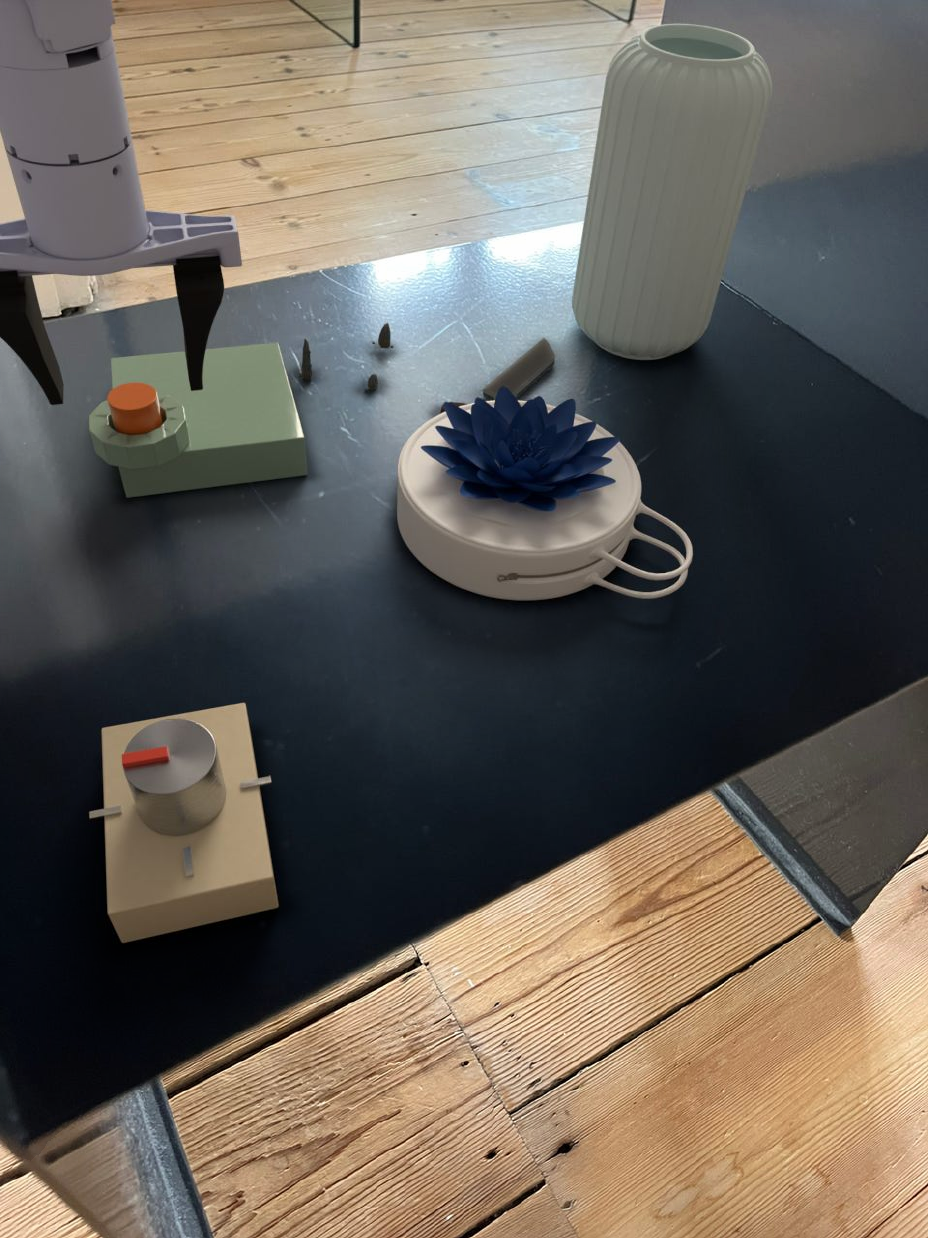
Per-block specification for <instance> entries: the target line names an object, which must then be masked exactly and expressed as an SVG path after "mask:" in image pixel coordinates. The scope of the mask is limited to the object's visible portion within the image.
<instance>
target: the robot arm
mask: <svg viewBox="0 0 928 1238" xmlns="http://www.w3.org/2000/svg"><path fill="white" fill-rule="evenodd" d="M115 24H116V20H115V14H114V9H113V2H112V0H0V135H1V139H2V143H3V146H4V150H5V154H6V157H7V160H8V164H9V168H10V170H11V174H12V178H13V182H14V186H15V187H16V192H17V196H18V198H19V202H20V205H21V210H22V213H23V216H24V218H20V219H15V220H10V221H6V222H0V339H2V341H4V342H5V343H6V345H8V347H10V349H11V350H12V351H13V352H14V353H15V354H16V355H17V356H18V358H19V359H20V360H21V361H22V363H23V364H24V365H25V366H26V368H27V369H28V370H29V372H30V373H31V374H32V375H33V377H34V378H35V380H36V381H37V383H38V385H39V386H40V388H41V390H42V391H43V393H44V395H45V397H46V398H47V400H48V403H49V405H51V406H57V405H63V404H64V387H65V386H64V385H65V384H64V381H63V376H62V371H61V368H60V364H59V362H58V359H57V356H56V354H55V351H54V348H53V345H52V343H51V340H50V337H49V335H48V331H47V329H46V326H45V322H44V318H43V314H42V311H41V308H40V307H41V306H40V303H39V299H38V295H37V291H36V287H35V282H34V277H33V276H43V275H44V276H45V275H46V276H47V275H66V276H77V277H78V276H79V277H94V276H104V275H109V274H114V273H119V272H123V271H127V270H131V269H141V268H155V267H168V266H169V267H171V266H172V270H173V276H174V283H175V284H174V285H175V291H176V296H177V302H178V308H179V314H180V318H181V322H182V323H181V324H182V330H183V341H184V351H185V356H186V363H187V370H188V377H189V383H190V388H191V391H196V390H202V389H203V380H202V376H203V363H204V355H205V350H206V349H207V345H208V341H209V336H210V333H211V331H212V330H211V329H212V326H213V323H214V321H215V318H216V315H217V313H218V311H219V309H220V307H221V306H222V305H221V304H222V302H223V298H224V293H225V281H224V275H223V271H222V268H238V267H242V266H243V259H242V253H241V251H242V250H241V245H240V244H241V243H240V234H239V230H238V225H237V222H236V217H235V215H234V214H227V215H226V214H225V215H224V214H223V215H207V214H206V215H205V214H193V213H183V212H171V211H163V210H162V211H161V210H160V211H159V210H149V209H146V206H145V200H144V195H143V190H142V185H141V179H140V175H139V168H138V164H137V158H136V153H135V147H134V143H133V137H132V130H131V126H130V121H129V116H128V110H127V105H126V100H125V95H124V94H125V93H124V89H123V84H122V79H121V74H120V69H119V64H118V58H117V53H116V47H115V42H114V37H113V31H112V25H115Z"/></svg>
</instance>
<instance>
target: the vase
mask: <svg viewBox="0 0 928 1238" xmlns="http://www.w3.org/2000/svg"><path fill="white" fill-rule="evenodd" d="M772 83H773V82H772V75H771V72H770V70H769V67H768V65H767V63H766V61H765V59H764V58H763V57H762V56H761V55H760V53H759V52H758V51H756V50H755V46H754V45H753V44H752V42H750V41H749V40H748V39H747V38H745V37H743V36H741V35H739V34H736V33H735V32H731V31H728V30H726V29H721V28H718V27H713V26H708V25H699V24H691V23H665V24H659V25H654V26H650V27H648V28H646V29H644V30H643V31H642V32H641V33H640V34H639V35H636V36H634V37H632V38H631V39H630V40H629V41H627V42H626V43H624V44H623V45H622V46H621V47H620V49H619V50H618V51H617V52H616V53H615V54H614V56H613V57H612V59H611V61H610V63H609V66H608V68H607V73H606V76H605V83H604V89H603V95H602V101H601V108H600V113H599V114H600V115H599V121H598V122H599V123H598V128H597V135H596V141H595V146H594V154H593V160H592V168H591V174H590V180H589V187H588V193H587V198H586V205H585V213H584V218H583V224H582V232H581V238H580V245H579V252H578V258H577V263H576V270H575V279H574V283H573V289H572V296H571V309H572V312H573V315H574V318H575V321H576V323H577V325H578V326H579V328H580V329H581V330H582V331H583V333H584V335H586V336H587V337H588V338H589V340H591V341H593V342H594V343H595V344H596V345H597V346H598V347H600V348H601V349H603V350H605V351H606V352H608V353H610V354H613V355H616V356H619V357H622V358H624V359H625V358H626V359H630V360H638V361H653V360H660V359H664V358H666V357H670V356H672V355H675V354H678V353H680V352H683V351H685V350H687V349H688V348H690V347H691V346H692V345H694V344H696V343H697V342H698V341H699V340H700V339H701V337H702V336H703V335H704V334H705V332H706V330H707V329H708V327H709V324H710V322H711V319H712V316H713V311H714V308H715V304H716V300H717V297H718V294H719V290H720V286H721V283H722V279H723V275H724V272H725V268H726V265H727V261H728V258H729V253H730V249H731V246H732V242H733V238H734V236H735V231H736V229H737V225H738V220H739V217H740V213H741V210H742V206H743V202H744V198H745V195H746V191H747V188H748V184H749V182H750V181H749V180H750V177H751V174H752V170H753V167H754V166H753V165H754V162H755V158H756V155H757V151H758V149H759V144H760V141H761V136H762V133H763V129H764V126H765V123H766V119H767V115H768V112H769V108H770V104H771V100H772V95H773V84H772Z"/></svg>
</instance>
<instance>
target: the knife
mask: <svg viewBox="0 0 928 1238" xmlns="http://www.w3.org/2000/svg"><path fill="white" fill-rule="evenodd" d="M555 361H556V356H555V352H554V350H553V349H552V346H551V343H550V342H549V341H548V340H547V338H545V337H543V338H542V339H540V340H539V341H538V342H537V343H535V344H534V345H533V346H532V347H530V349H528V350H527V351H526V352H525V353H524V354H523V355H521V356H520V357H519V358H518V359H517V360H516V361H514V362H513V363H512V364H511V365H510V366H508V367H507V368H506V369H505V370H503V371H502V372H501V373H500V374H499V375H498V376H496V377H495V378H494V379H493V380H492V381H491V382H490V383H489V384H487V385H486V386H485V387H484V388H482V389H481V392H482V396H483V397H484V398H486V399H488V400H489V401H494V400H495V399H496V395H497V393H498V390H499V388H500V387H502V386H505V387H506V388H508V389H509V390H510V391H511V392H512V394H513V395H514V396H515V397H516V399H517V400H518V398H519V397H520V396H521V395H522V394H523V393H524V392H526V390H528V389H529V388H530V387H531V386H532V385H533V384H535V382H536V381H538V380H539V379H540V378H541V377H542V376H543V375H544V374H546V373H547V372H548V371H549V370H550V369H551V368H552V367H553V366H554V365H555ZM448 402H449V403H451V404H454V405H456V406H458V407H460V406H463V405H467V404H468V403H465V402H457V401H448ZM443 412H446V411H445V409H444V404H442V405H441V408H440V411H439V414H441V413H443Z"/></svg>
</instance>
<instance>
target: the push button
mask: <svg viewBox="0 0 928 1238" xmlns="http://www.w3.org/2000/svg"><path fill="white" fill-rule="evenodd" d="M106 400H108V404H109V408H110V412H111V416H112V420H113V424H114V428H115V429H116V431H117V432H119V433H122V434H127V435H138V434H146V433H149V432H151V431H153V430H155V429H157V428H160V427H161V425H162V422H163V419H162V415H161V410H160V405H159V400H158V395H157V392H156V390H155V389H154V388H153V387H152V386H150V385H148V384H144V383H126V384H122V385H120V386H117V387H115V388H114V389H113V390H112V389H111V390H110V391H109V392H108V394H107V398H106Z"/></svg>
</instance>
